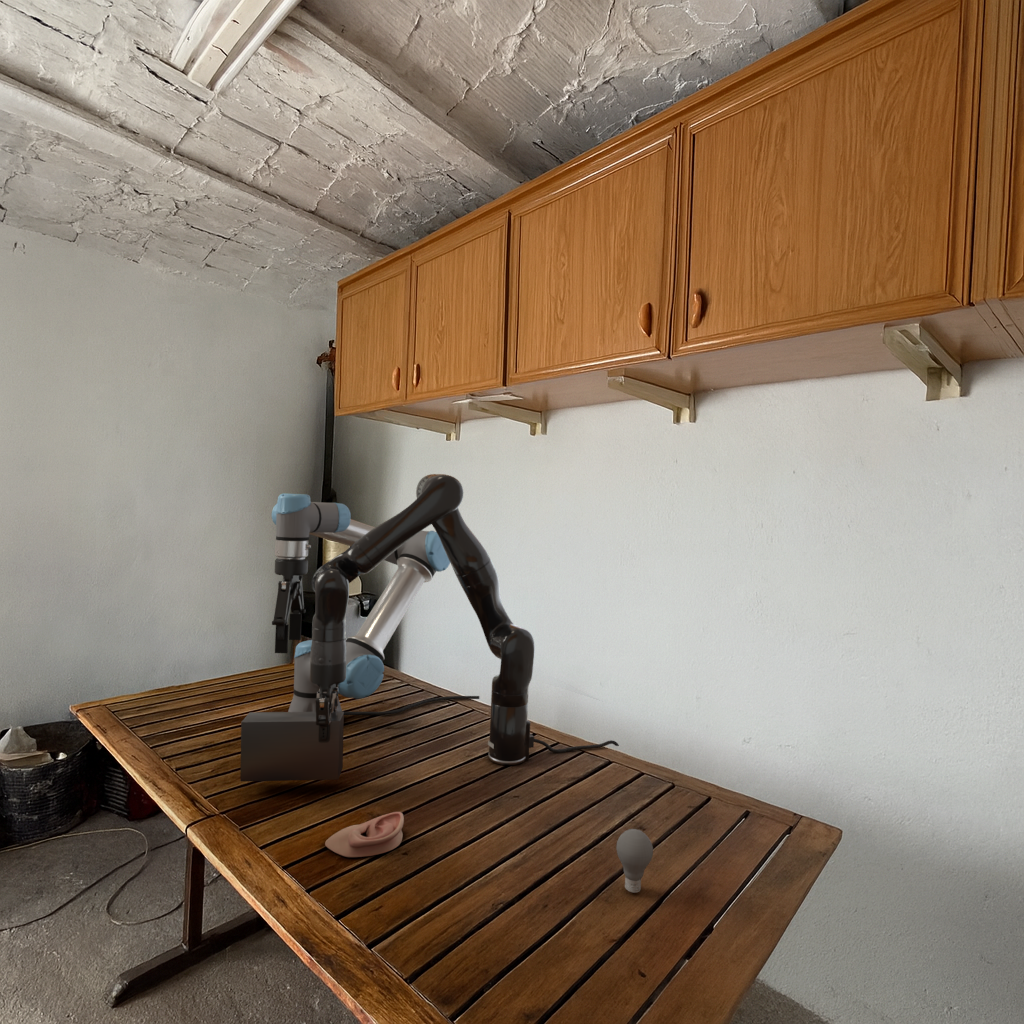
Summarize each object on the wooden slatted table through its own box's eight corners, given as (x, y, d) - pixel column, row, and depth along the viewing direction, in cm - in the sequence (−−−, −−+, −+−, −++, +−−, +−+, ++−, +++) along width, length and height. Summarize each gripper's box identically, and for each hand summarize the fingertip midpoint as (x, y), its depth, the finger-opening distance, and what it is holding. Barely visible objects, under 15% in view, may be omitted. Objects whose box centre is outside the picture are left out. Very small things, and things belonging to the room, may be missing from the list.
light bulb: (610, 879, 108) (613, 822, 108) (644, 879, 109) (647, 822, 109) (619, 902, 102) (622, 840, 102) (655, 901, 103) (658, 840, 103)
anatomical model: (317, 830, 113) (346, 800, 124) (316, 852, 113) (345, 821, 124) (387, 841, 110) (410, 810, 121) (386, 864, 110) (410, 831, 121)
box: (240, 781, 133) (241, 721, 132) (248, 769, 139) (249, 712, 138) (338, 779, 135) (339, 720, 135) (342, 767, 141) (343, 711, 140)
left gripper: (295, 563, 140) (292, 659, 140) (317, 553, 165) (314, 635, 165) (260, 562, 139) (257, 658, 139) (288, 552, 164) (285, 634, 164)
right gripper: (340, 668, 130) (339, 749, 131) (351, 651, 144) (349, 723, 145) (303, 668, 129) (301, 749, 130) (317, 650, 144) (315, 724, 144)
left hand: (288, 646), depth 152 cm, fingers open, 13 cm apart
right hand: (326, 735), depth 137 cm, fingers closed on box, 6 cm apart
